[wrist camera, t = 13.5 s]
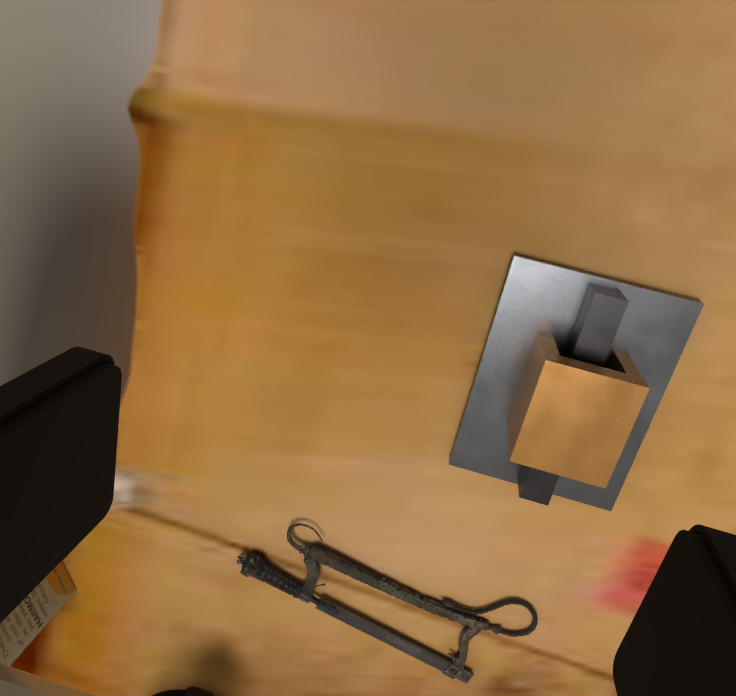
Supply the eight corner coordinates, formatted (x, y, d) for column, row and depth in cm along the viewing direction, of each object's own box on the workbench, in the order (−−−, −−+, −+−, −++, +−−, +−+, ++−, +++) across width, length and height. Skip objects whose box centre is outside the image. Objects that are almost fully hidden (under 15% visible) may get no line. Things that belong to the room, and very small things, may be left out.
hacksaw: (235, 562, 53) (229, 574, 51) (275, 478, 48) (269, 489, 47) (484, 683, 53) (484, 698, 52) (546, 611, 49) (547, 626, 47)
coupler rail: (513, 252, 40) (515, 263, 37) (698, 299, 39) (717, 315, 35) (449, 457, 46) (446, 482, 43) (608, 503, 45) (618, 532, 41)
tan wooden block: (538, 330, 40) (545, 360, 35) (628, 354, 40) (649, 388, 35) (506, 421, 43) (509, 461, 38) (591, 445, 42) (605, 488, 37)
